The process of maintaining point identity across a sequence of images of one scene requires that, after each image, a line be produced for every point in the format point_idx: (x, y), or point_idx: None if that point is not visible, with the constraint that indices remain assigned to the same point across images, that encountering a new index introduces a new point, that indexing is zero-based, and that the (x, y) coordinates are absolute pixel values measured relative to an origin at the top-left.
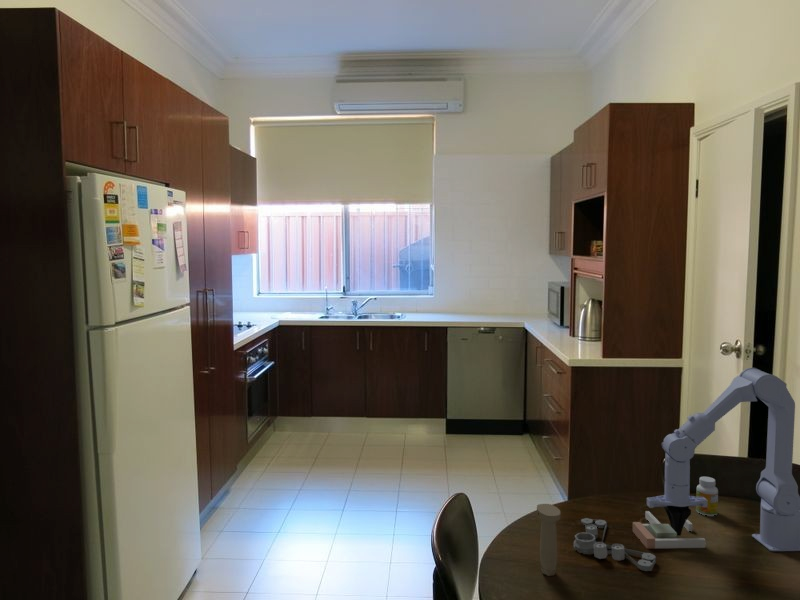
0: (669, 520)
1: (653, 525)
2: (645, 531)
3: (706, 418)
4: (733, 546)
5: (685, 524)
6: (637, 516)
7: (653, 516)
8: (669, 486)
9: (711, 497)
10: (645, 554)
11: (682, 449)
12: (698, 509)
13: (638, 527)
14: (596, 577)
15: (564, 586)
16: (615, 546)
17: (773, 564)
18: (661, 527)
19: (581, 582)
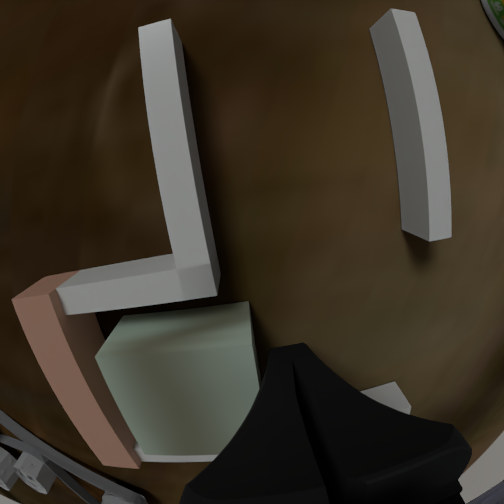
0: (256, 398)
1: (127, 379)
2: (87, 414)
3: None
4: (493, 346)
5: (413, 186)
6: (111, 36)
7: (177, 117)
8: None
9: None
10: (112, 501)
11: None
12: (498, 9)
13: (47, 371)
14: (35, 493)
15: (8, 492)
16: (23, 472)
17: (501, 414)
18: (182, 404)
19: (22, 494)
